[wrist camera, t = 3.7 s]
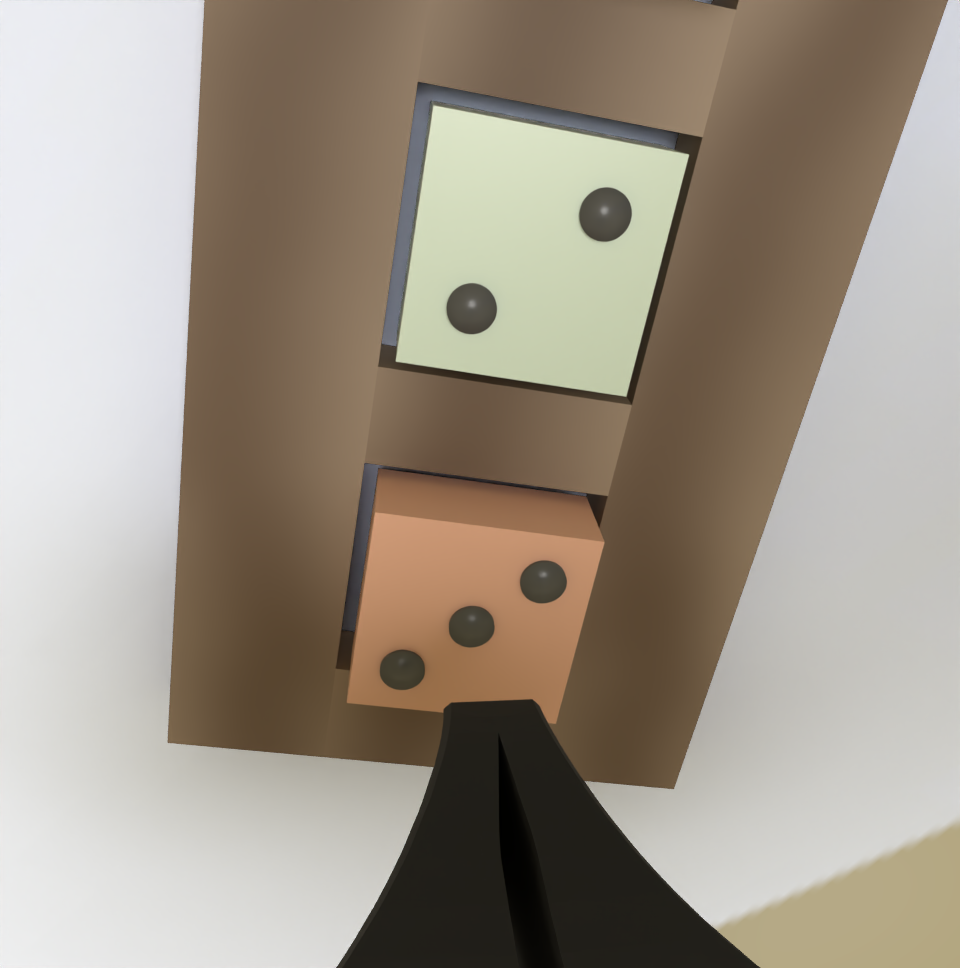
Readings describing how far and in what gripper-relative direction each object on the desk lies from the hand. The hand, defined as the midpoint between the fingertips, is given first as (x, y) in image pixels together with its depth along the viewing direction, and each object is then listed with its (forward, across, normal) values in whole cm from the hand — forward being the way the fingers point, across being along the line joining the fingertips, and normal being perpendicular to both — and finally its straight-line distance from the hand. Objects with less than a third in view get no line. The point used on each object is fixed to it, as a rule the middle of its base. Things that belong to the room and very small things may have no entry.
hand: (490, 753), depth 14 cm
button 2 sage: (+7, -1, -6) cm, 10 cm away
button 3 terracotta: (+8, 0, +1) cm, 8 cm away
